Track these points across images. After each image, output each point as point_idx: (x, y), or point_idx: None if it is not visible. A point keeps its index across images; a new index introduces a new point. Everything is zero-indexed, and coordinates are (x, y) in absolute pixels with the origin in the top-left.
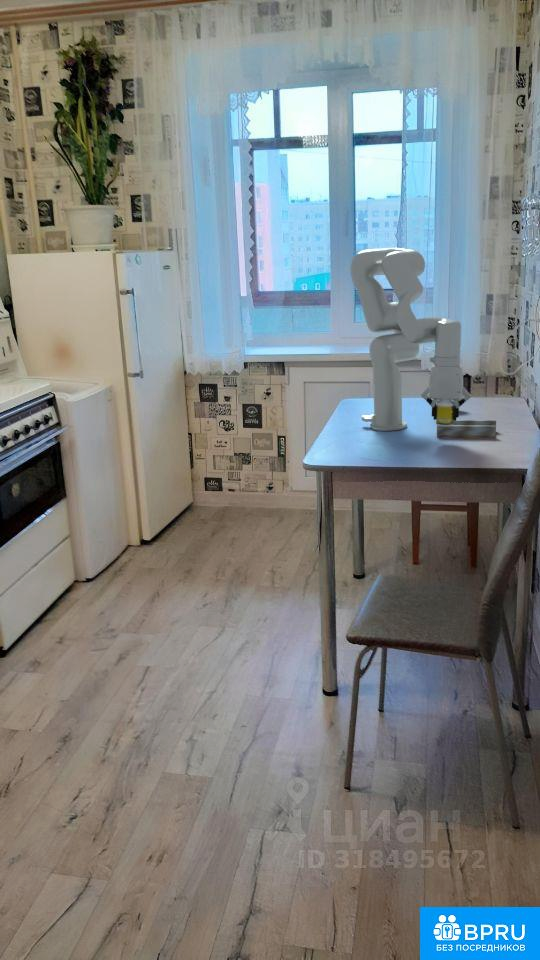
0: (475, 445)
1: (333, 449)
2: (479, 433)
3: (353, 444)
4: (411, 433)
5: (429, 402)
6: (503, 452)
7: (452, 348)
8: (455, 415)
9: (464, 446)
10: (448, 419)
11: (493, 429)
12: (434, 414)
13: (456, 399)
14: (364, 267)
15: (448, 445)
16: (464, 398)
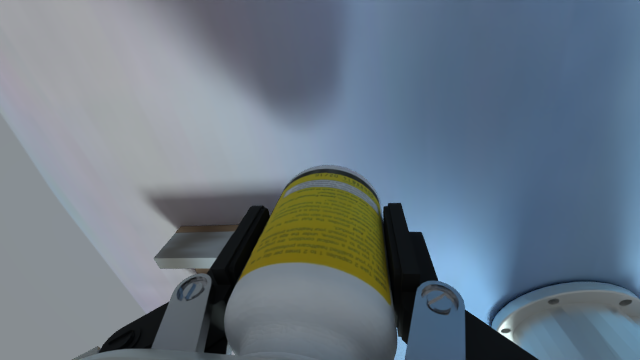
0: (197, 125)
1: None
2: (220, 236)
3: None
4: (478, 262)
5: (492, 343)
6: (27, 17)
7: None
8: (241, 225)
9: (233, 101)
10: (290, 194)
11: (166, 249)
12: (400, 226)
13: (126, 350)
14: None
15: (306, 107)
16: None
